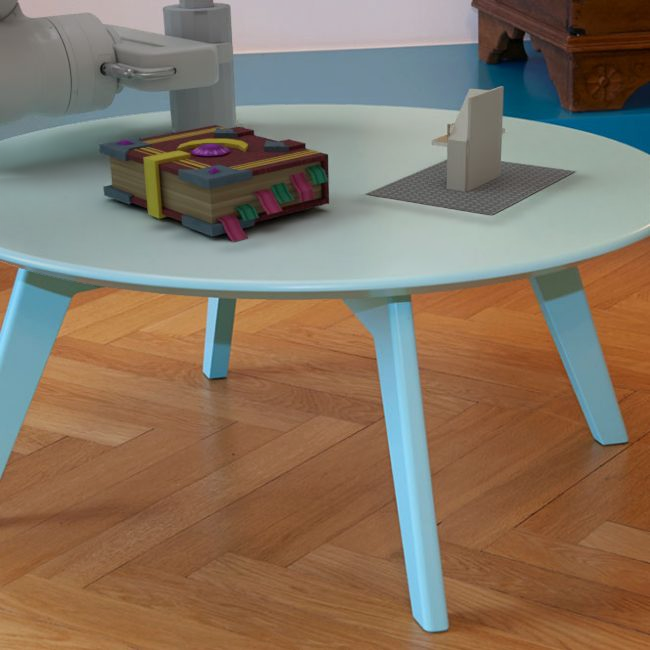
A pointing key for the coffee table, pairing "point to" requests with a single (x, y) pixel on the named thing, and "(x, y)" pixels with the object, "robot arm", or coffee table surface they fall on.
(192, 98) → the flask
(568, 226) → the coffee table surface
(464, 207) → the architectural model
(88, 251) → the coffee table surface
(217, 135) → the decorative book
